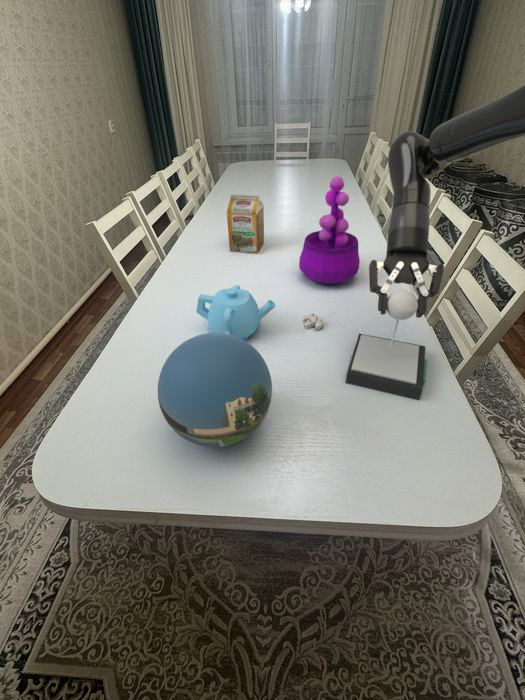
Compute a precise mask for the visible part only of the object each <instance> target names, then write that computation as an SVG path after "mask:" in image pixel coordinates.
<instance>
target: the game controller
mask: <svg viewBox="0 0 525 700" xmlns="http://www.w3.org/2000/svg"><path fill="white" fill-rule="evenodd" d="M334 313H335V311H333V312H332V313H331V314H329V315H328V317H330V316H332V315H333V314H334ZM323 317H324V315H322V316H321V317H320V316H319V315H317V314H315V313H314V312H312V313H307V314H306V315H304V316H303V317H302V318H303V322H304V324H303V325H304V329H305V330H308V329H310V328H312V327H315V330H316V331H319V330H320V329H322V328H323V327H324V320H323Z"/></svg>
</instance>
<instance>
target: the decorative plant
mask: <svg viewBox="0 0 525 700" xmlns="http://www.w3.org/2000/svg"><path fill="white" fill-rule="evenodd" d="M329 187H330V189H329V190H328V191H327V192H326V193H325V198H324V199H325V203H326V204H327V206H329V207H330V213H328V214H324V215H322V216H321V217H320V218H319V220H318V224H319V227H320V228H321V230H317V231H313V232H311V233H310V232H309V234H307V235H306V236H305V238H304V241H303V245H302V250H301V253H300V256H299V260H298V261H299V262H298V267H299V270H300V271H301V272H302V274H303V275H304V276H305V277H306V278H308V279H309V280H311V281H314V282H317V283H321V284H339V283H344V282H346V281H349V280H350V279H351V278H353V277H354V276H355V275H357V274H358V272H359V269H360V253H359V239H358V237H356V236H355V235H354V234H352V233H349V232H347V231H348V229H349V227H350V226H349V225H350V224H349V222H348V221H347V219H346V218H344V217H345V213H344V210H343V209H342V208H340V206H341V207H345V206H346V205H347V204H348V203H349V200H350V197H349V195H348V193H346V192H344V191H342V190H343V189H344V187H345V181H344V179H343V177H341V176H334V177H332V179H331V180H330V182H329Z"/></svg>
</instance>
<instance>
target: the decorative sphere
mask: <svg viewBox="0 0 525 700" xmlns="http://www.w3.org/2000/svg"><path fill="white" fill-rule="evenodd" d="M272 397H273V383H272V376H271V373H270V370H269V367H268V365H267V363H266V361H265V359H264V358H263V356H262V355H261V353H260V352H259V351H258V350H257V349H256V348H255V347H254V346H253V345H251V343H249V342H248V341H247V340H243V339H241V338H239V337H236V336H233V335H230V334H225V333H213V332H206V333H202V334H197V335H195V336H192V337H191V338H189V339H187V340H184V341H183V342H182V343H181V344H179V345H178V346H177V347H175V349H174V350H173V351H172V352H171V353H170V354H169V355H168V357H167V358H166V360H165V362H164V364H163V366H162V368H161V370H160V373H159V377H158V382H157V400H158V405H159V409H160V411H161V413H162V416H163V418H164V419H165V422H167V425H168V426H170V428H171V429H172V430H173V431H174V432H175V433H176V434H177V435H178V436H180V437H181V438H183V439H184V440H186V441H188V442H190V443H192V444H194V445H198V446H202V447H207V448H208V447H209V448H222V447H227V446H231V445H234V444H236V443H239V442H241V441H243V440H244V439H246V438H248V437H249V436H250V435H251V434H252V433H254V432H255V431H256V430H257V429H258V428H259V427H260V425H261V424H262V423H263V421H264V419H265V418H266V416H267V413H268V411H269V409H270V406H271V402H272Z"/></svg>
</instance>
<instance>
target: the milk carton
mask: <svg viewBox="0 0 525 700" xmlns="http://www.w3.org/2000/svg"><path fill="white" fill-rule="evenodd" d="M264 216H265V213H264V203H263V202H262V200H261V197H260V195H258V194H240V193H238V194H237V193H231V194H230V197H229V202H228V205H227V210H226V220H227V221H226V222H227V233H228V244H229V245H228V246H229V252H231V253H241V254H252V255H254V254H255V255H258V253H259V252H260V251H261V249H262V247H263V246H264V245H265V218H264Z"/></svg>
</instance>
